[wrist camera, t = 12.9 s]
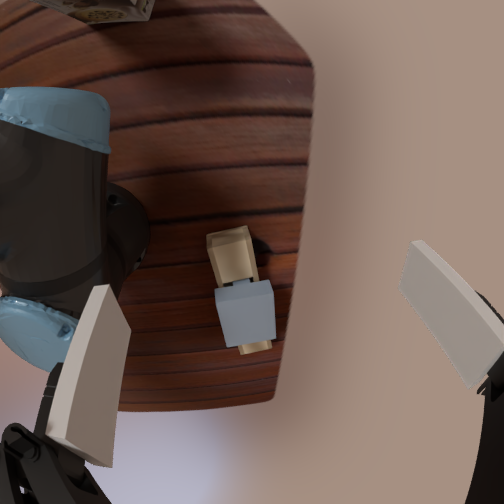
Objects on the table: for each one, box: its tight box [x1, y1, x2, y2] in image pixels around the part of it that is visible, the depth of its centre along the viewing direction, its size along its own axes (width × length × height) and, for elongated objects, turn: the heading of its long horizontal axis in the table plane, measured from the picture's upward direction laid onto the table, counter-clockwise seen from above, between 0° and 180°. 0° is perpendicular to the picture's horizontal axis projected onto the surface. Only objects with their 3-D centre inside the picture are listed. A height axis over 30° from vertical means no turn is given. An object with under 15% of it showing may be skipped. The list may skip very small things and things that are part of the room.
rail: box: [206, 225, 272, 355], centre depth 45 cm, size 6×24×4 cm, turn 9°
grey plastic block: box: [215, 278, 276, 347], centre depth 43 cm, size 8×10×7 cm
